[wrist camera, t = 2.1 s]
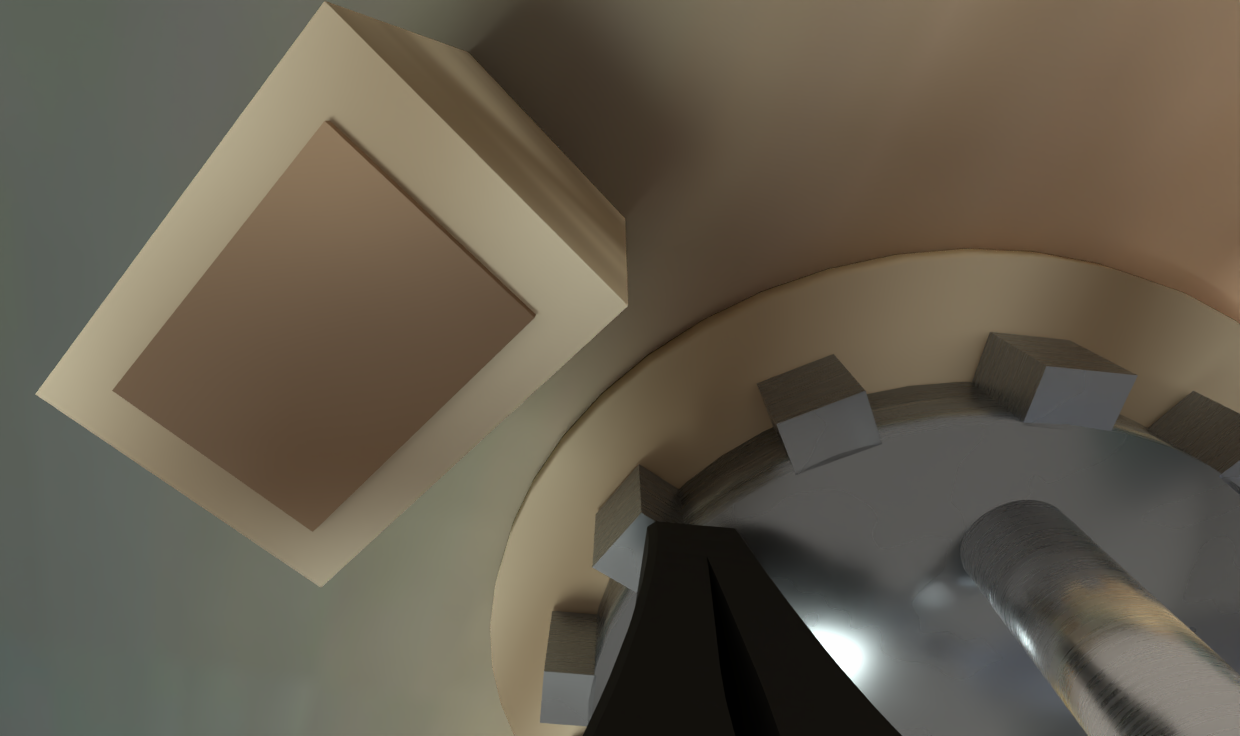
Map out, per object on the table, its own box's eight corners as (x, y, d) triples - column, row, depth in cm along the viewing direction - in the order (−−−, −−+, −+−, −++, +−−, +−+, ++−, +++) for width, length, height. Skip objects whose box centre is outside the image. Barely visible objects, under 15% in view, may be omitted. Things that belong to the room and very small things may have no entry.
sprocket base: (1519, 305, 11) (1771, 360, 9) (1102, 891, 18) (1176, 1012, 16) (510, 193, 10) (476, 220, 8) (486, 850, 17) (464, 970, 15)
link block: (624, 218, 10) (628, 308, 6) (437, 400, 12) (316, 593, 7) (469, 52, 9) (318, -2, 5) (284, 271, 11) (26, 398, 6)
